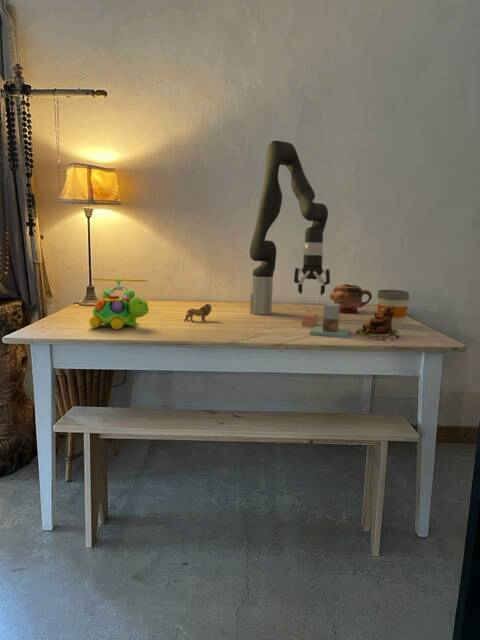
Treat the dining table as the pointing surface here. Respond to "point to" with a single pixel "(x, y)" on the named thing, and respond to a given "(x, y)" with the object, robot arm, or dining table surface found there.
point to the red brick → (309, 320)
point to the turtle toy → (118, 311)
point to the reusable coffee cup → (394, 304)
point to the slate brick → (331, 310)
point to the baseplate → (340, 332)
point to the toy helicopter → (119, 288)
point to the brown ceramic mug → (349, 298)
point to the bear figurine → (380, 326)
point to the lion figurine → (199, 312)
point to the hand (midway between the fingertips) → (311, 294)
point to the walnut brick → (330, 325)
